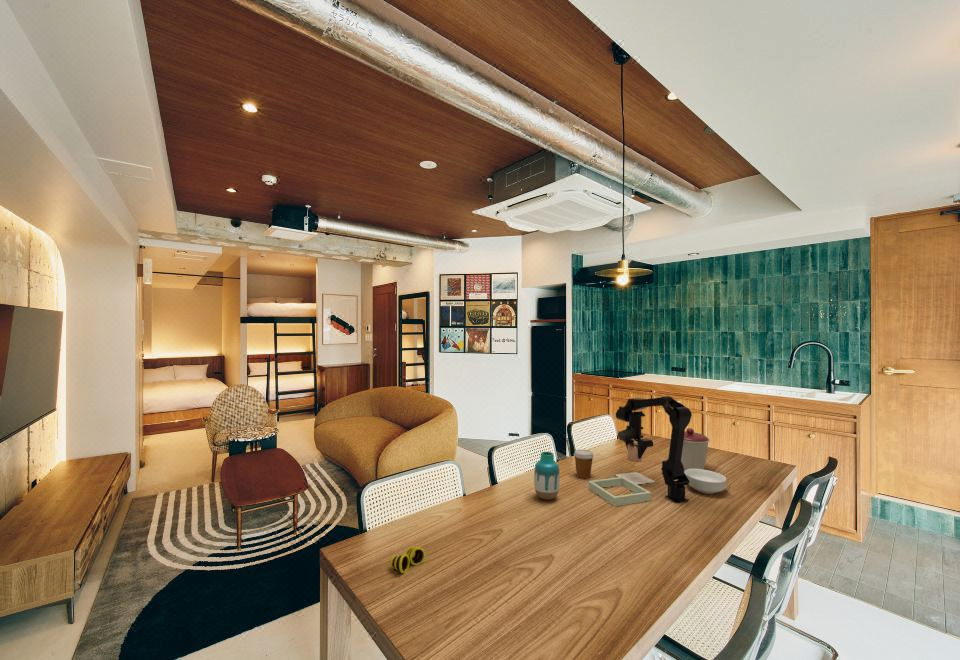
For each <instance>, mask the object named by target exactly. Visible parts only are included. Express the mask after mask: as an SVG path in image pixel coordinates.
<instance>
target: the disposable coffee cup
mask: <svg viewBox="0 0 960 660" xmlns="http://www.w3.org/2000/svg"><path fill="white" fill-rule="evenodd" d="M573 456H574V462H575V471H576V473H575V474H576V477H577V476H578V477H577V478H579V477H581V478H580V479H582V478H588V479H590V478H589V477H591V473H592V466H593V458H594V456H595V455H594V453H593V451H591V450H588V449H582V448H581V449H575V450H574V453H573Z"/></svg>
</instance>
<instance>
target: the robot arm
mask: <svg viewBox="0 0 960 660" xmlns="http://www.w3.org/2000/svg"><path fill="white" fill-rule="evenodd" d="M658 406H659V407H660V406H661V407H663V410H664V413H666V415H668V416H669V417H668V419H669V422H670V425H671V434H670V441H669V442H670V443H669V450H668V458H667V459H665V460H662V462H661V469H660V470H661V474H662V476H663V482H664V484H665V486H667V495H665V496H664V498H667V499H669V500H670V501H672V502H674V503H676V504H678V503H679V504H680V503H683V502H684V503H685V502H689V499H688V498H686V486H690V485H689V482H690V481H689V479H688V478H687V476H686V475H685V473H684V472H685V470H684V466H683V464H682V462H681V457H682V449H683V441H684V433H685V430H686V429H687V427H688V426H689V424H690V423H691V419H692V417H693V415H692V411H691V410H690V409H689V408H688V407H687V406H685V405H684V404H682V403H681V402H679V401H677V400H676V399H674V397H672V396H669V395H666V396H659V397H653V398H644V397H635V398H634V397H633V398H628V399H627V401H626V404H625V405H624V406H623V405H622V406H618V409H617V410H616V412H615V417H616V419H617V420H619V421H622V422H625V423H628V425H626V427H625V428H626V429H623V430H621V431H618V432H617V438H618V439H619V441H622V442H624V444H625V446H626V450H628V444H629V443H635V442H637V443H636V444H638V445H635V446H636V447H637V448H638V459H641V457H642V458H643V455H644V453H645V451H647V449H648V448H652V447H654V441H653V440H652V439H650V438H644V435H643V434H642V430H644V427H643V426H642V420H643V419H642V417H643V418H644V417H646V414H645V413H644V412H643V411H642V410H645V409H647V408H650V407H651V408H652V407H658Z"/></svg>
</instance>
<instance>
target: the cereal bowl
mask: <svg viewBox="0 0 960 660" xmlns="http://www.w3.org/2000/svg"><path fill="white" fill-rule="evenodd" d="M684 473H685V475H686V476H687V478H688V479H689V481H690V482H689V485H688V486H690V487H692V488H693V489H694V490H695V491H697V492H699V493H702V494H708V495H711V494H714V493H720V492H722V491H723V490H725V488H726V487H727V481H728V480H727V478H726V476H725V475H723V474H722V473H718V472H717V471H711V470H708V469H687V470H684Z"/></svg>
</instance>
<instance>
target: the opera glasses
mask: <svg viewBox="0 0 960 660" xmlns="http://www.w3.org/2000/svg"><path fill="white" fill-rule="evenodd" d="M425 558H426V552H425V549H423V548H422V547H419V546H418V547H413V546H411V547H408V548H407V550H406V551H405V553H404V554H399V555H393V556H392V557H391V558H390V559H391V560H390V567H391V569H395V570H396V571H399V572H400V573H401V574H405V573H407V571H408V570H409V567H410V563H411V565H413V566H419V565H421V564H423V562H424V560H425Z"/></svg>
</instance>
